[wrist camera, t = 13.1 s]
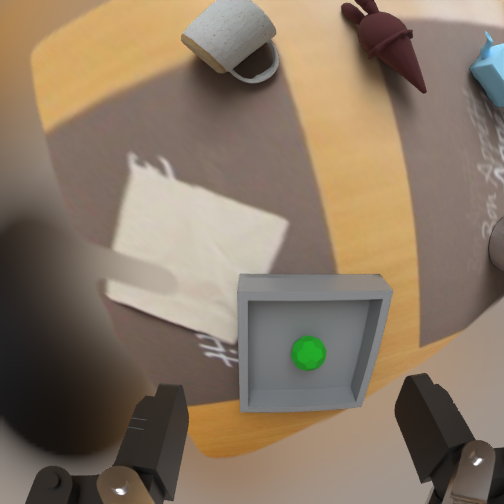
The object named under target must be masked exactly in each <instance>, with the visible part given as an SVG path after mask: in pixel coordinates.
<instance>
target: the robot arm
mask: <svg viewBox="0 0 504 504" xmlns="http://www.w3.org/2000/svg"><path fill="white" fill-rule="evenodd" d="M489 255H490V259H491V261H492V263H493V264H494V265H495V266H496V267H498V268H499V269H501V270H502V271H504V217H503V218H502V219H501V220H499V222H498V223H497V224H496V226H495V228H494V230H493V232H492V235H491V238H490V243H489ZM395 417H396V420H397V422H398V425H399V427H400V430H401V432H402V435H403V437H404V440H405V442H406V445H407V447H408V450H409V452H410V455H411V458H412V460H413V463H414V466H415V468H416V471H417V474H418V476H419V479H420V482H421V484H422V483H425V482H428V481H432V482H433V487H432V488H431V490H430V493H429V495H428V497H427V500H426V502H425V504H504V447H503V448H492V446H491V445H490V444H488V443H487V442H485V441H482V440H476V439H475V438H474V437H473V434H472V433H471V431H470V429H469V427H468V426H467V424H466V422H465V420H464V419H463V417H462V415H461V414H460V412H459V411H458V408H457V407H456V405H455V404H454V403H453V400H452V398H451V397H450V395H449V394H448V392H447V391H446V390H445V389H443V388H442V387H441V386H440V385H439V384H435V385H434V384H433V382H432V380H431V379H430V377H429V376H428V374H426V373H422V374H417V375H411V376H407V377H406V378H405V380H404V383H403V385H402V388H401V391H400V393H399V396H398V399H397V401H396V404H395ZM188 424H189V414H188V409H187V404H186V400H185V395H184V390H183V387H182V385H178V384H166V383H160V384H159V386H158V389H157V392H156V395H155V397H153V396H145V397H144V398H143V399H142V400H141V401H140V402H139V403H138V404H137V405H136V407H135V410H134V412H133V415H132V419H131V420H130V423H129V425H128V426H129V427H128V428H127V431H126V433H125V436H124V439H123V441H122V444H121V447H120V449H119V452H118V455H117V458H116V460H115V462H114V464H113V465H112V467H109V468H107V469H105V470H104V471H102V473H101V474H98V475H91V476H89V475H88V476H71V475H70V474H69V473H68V472H67V471H66V470H65V469H63V468H61V467H58V466H48V467H45V468H43V469H42V470H40V471H39V472H38V474H37V475H36V477H35V480H34V482H33V485H32V487H31V490H30V492H29V495H28V497H27V500H26V503H25V504H163V502H164V500H168V501H174V495H175V490H176V485H177V480H178V475H179V470H180V465H181V460H182V454H183V450H184V445H185V440H186V435H187V431H188Z"/></svg>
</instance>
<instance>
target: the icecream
mask: <svg viewBox="0 0 504 504" xmlns="http://www.w3.org/2000/svg"><path fill="white" fill-rule="evenodd" d="M355 2H356V3H357V4H358V5H360V6H361V7H362V9H363V10H364V11H365V12H367V13H368V15H366V16H364V14H363V13H362V12H361V11H360V10H359V9H358V8H357V7H355V6H354V5H352V4H350V3H344V4H343V5H342V6H341V9H342V12H343V13H344V15H345V16H346V17H347V18H348V19H349V20H351V21H352V22H353V23H355V24H357V25H359V26H358V37H359V41H360V43H361V45H362V47H363V48H364V50H365V51H367V52H368V53H369V57H368V58H369V59H372V58H373V57H375V56H376V57H378V58H379V59H380V60H382V61H383V62H385V63H386V64H387V65H389V66H390V67H391V68H393V69H394V70H395V71H396V72H398V73H399V74H400V75H402V76H403V77H404V78H405V79H407V80H408V81H409V82H410V83H411V84H412V85H414V86H415V87H416V88H417V89H418V90H419V91H421V92H422V93H423V94H424V93H426V92H427V91H426V87H425V83H424V80H423V76H422V73H421V70H420V67H419V64H418V61H417V58H416V55H415V52H414V49H413V46H412V44H411V41H410V39H411V38H413V34H412V31H413V30H407V28H406V26H405V25H404V24H403V23H402V22H401V21H400V19H398V18H396V17H394V16H393V15H391V14H389V13H385V12H379V10H378V8H377V5H376V3H375V2H374V0H355Z"/></svg>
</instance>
